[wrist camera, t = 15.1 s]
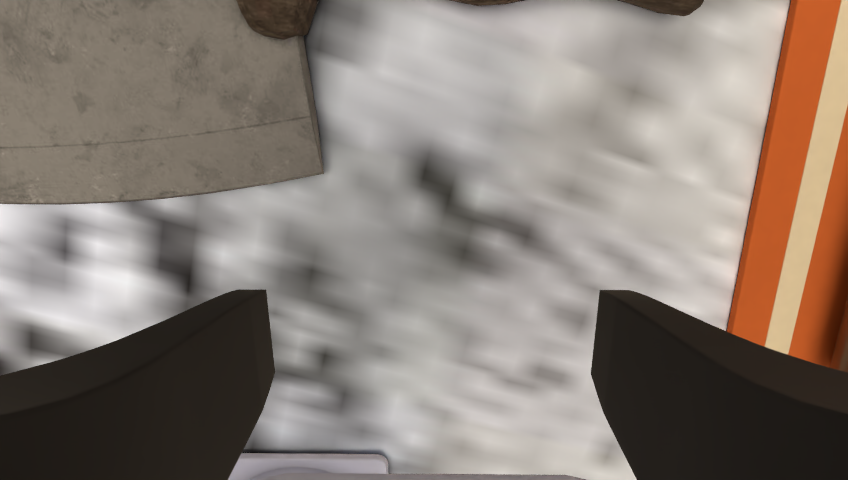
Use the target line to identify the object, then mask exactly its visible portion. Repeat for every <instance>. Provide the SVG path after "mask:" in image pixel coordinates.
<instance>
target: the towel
mask: <svg viewBox="0 0 848 480" xmlns="http://www.w3.org/2000/svg"><path fill="white" fill-rule="evenodd" d="M847 296H848V0H791V4H790V9H789V14H788V19H787V24H786V29H785V35H784V40H783V45H782V50H781V55H780V60H779V65H778V71H777V76H776V81H775V86H774V91H773V96H772V101H771V107H770V112H769V117H768V122H767V127H766V132H765V137H764V143H763V148H762V153H761V158H760V163H759V168H758V173H757V179H756V184H755V189H754V194H753V199H752V204H751V209H750V215H749V220H748V225H747V230H746V235H745V240H744V246H743V251H742V256H741V261H740V266H739V271H738V276H737V282H736V287H735V292H734V297H733V302H732V307H731V312H730V318H729V323H728V328H727V332H729V333H731V334H734V335H736V336H739V337H741V338H744V339H746V340H749V341H751V342H754V343H756V344H759V345H761V346H764V347H767V348H770V349H773V350H775V351H778V352H781V353H784V354H788V355H791V356H794V357H797V358H800V359H803V360H806V361H809V362H812V363H815V364H819V365H822V366H826V367H830V363H831V359H832V355H833V351H834V347H835V343H836V339H837V335H838V332H839V328H840V324H841V320H842V316H843V312H844V308H845V304H846V300H847Z"/></svg>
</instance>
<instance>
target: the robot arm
mask: <svg viewBox="0 0 848 480" xmlns="http://www.w3.org/2000/svg"><path fill="white" fill-rule="evenodd" d="M274 374H275V368H274V358H273V349H272V340H271V331H270V322H269V312H268V303H267V294H266V290H235V291H231V292H228V293H225V294H223V295H220V296H218V297H215V298H213V299H211V300H209V301H206V302H204V303H202V304H200V305H198V306H195V307H193V308H191V309H189V310H187V311H184V312H182V313H180V314H178V315H176V316H174V317H171V318H169V319H167V320H165V321H162V322H160V323H158V324H155V325H153V326H150V327H148V328H146V329H143V330H141V331H139V332H136V333H134V334H131V335H129V336H127V337H124V338H122V339H119V340H117V341H114V342H111V343H109V344H106V345H103V346H100V347H98V348H95V349H92V350H89V351H86V352H83V353H80V354H77V355H74V356H71V357H68V358H64V359H61V360H58V361H54V362H51V363H47V364H43V365H39V366H35V367H32V368H28V369H24V370H20V371H16V372H13V373H9V374H5V375H1V376H0V480H586V479H581V478H577V477H573V476H568V475H494V474H388V461H387V459H386V458H385V457H384V456H382V455H379V454H280V453H242V451H243V449H244V447H245V445H246V443H247V441H248V439H249V437H250V435H251V433H252V431H253V429H254V427H255V425H256V423H257V421H258V419H259V417H260V415H261V413H262V411H263V408H264V405H265V402H266V399H267V396H268V393H269V390H270V387H271V384H272V380H273V377H274ZM591 375H592V379H593V382H594V385H595V388H596V392H597V395H598V398H599V401H600V404H601V407H602V409H603V412H604V414H605V417H606V419H607V421H608V423H609V425H610V427H611V429H612V431H613V433H614V435H615V437H616V439H617V441H618V443H619V445H620V447H621V449H622V451H623V453H624V455H625V457H626V459H627V461H628V463H629V465H630V467H631V469H632V471H633V473H634V475H635V477H636V479H637V480H848V372H844V371H840V370H836V369H833V368H829V367H826V366H822V365H819V364H815V363H812V362H809V361H806V360H803V359H800V358H797V357H794V356H791V355H788V354H784V353H781V352H778V351H775V350H773V349H770V348H767V347H764V346H761V345H759V344H756V343H754V342H751V341H749V340H746V339H744V338H741V337H739V336H736V335H734V334H731V333H729V332H726V331H724V330H722V329H719V328H717V327H715V326H712V325H710V324H708V323H705V322H703V321H701V320H699V319H697V318H694V317H692V316H690V315H688V314H686V313H683V312H681V311H679V310H677V309H675V308H673V307H670V306H668V305H666V304H664V303H662V302H659V301H657V300H655V299H653V298H650V297H648V296H645V295H643V294H640V293H637V292H634V291H630V290H600V294H599V303H598V312H597V322H596V331H595V340H594V350H593V359H592V368H591ZM375 473H378V474H375Z"/></svg>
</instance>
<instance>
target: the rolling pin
mask: <svg viewBox="0 0 848 480" xmlns="http://www.w3.org/2000/svg"><path fill="white" fill-rule="evenodd" d="M829 368H833V369H836V370H840V371H844V372H848V296H847V300H846V304H845V308H844V312H843V316H842V320H841V324H840V328H839V332H838V335H837V339H836V343H835V347H834V351H833V355H832V359H831V363H830V367H829Z"/></svg>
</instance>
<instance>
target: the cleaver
mask: <svg viewBox="0 0 848 480" xmlns="http://www.w3.org/2000/svg"><path fill="white" fill-rule="evenodd" d="M451 1H456V2H461V3H466V4H471V5H476V6H481V5H499V4H508V3H513V2H518V1H523V0H451ZM619 1H623V2H627V3H630V4H633V5H636V6H639V7H642V8H645V9H648V10H651V11H654V12H657V13H663V14H671V15H679V16H686V15H689V14H691V13H692V12H693V11H695V10H696V9H697V8H699V7H700V6H701V5H702V3H703V1H704V0H619ZM317 3H318V0H0V204H85V203H113V202H126V201H139V200H152V199H165V198H174V197H182V196H190V195H199V194H207V193H216V192H222V191H228V190H234V189H240V188H247V187H253V186H259V185H265V184H271V183H276V182H282V181H287V180H292V179H298V178H303V177H308V176H313V175H319V174H324V171H323V163H322V155H321V147H320V139H319V132H318V124H317V116H316V109H315V103H314V97H313V92H312V86H311V80H310V74H309V68H308V62H307V56H306V50H305V44H304V38H303V36H304V35H307V34H308V31H309V28H310V25H311V22H312V19H313V16H314V13H315V10H316V6H317Z"/></svg>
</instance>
